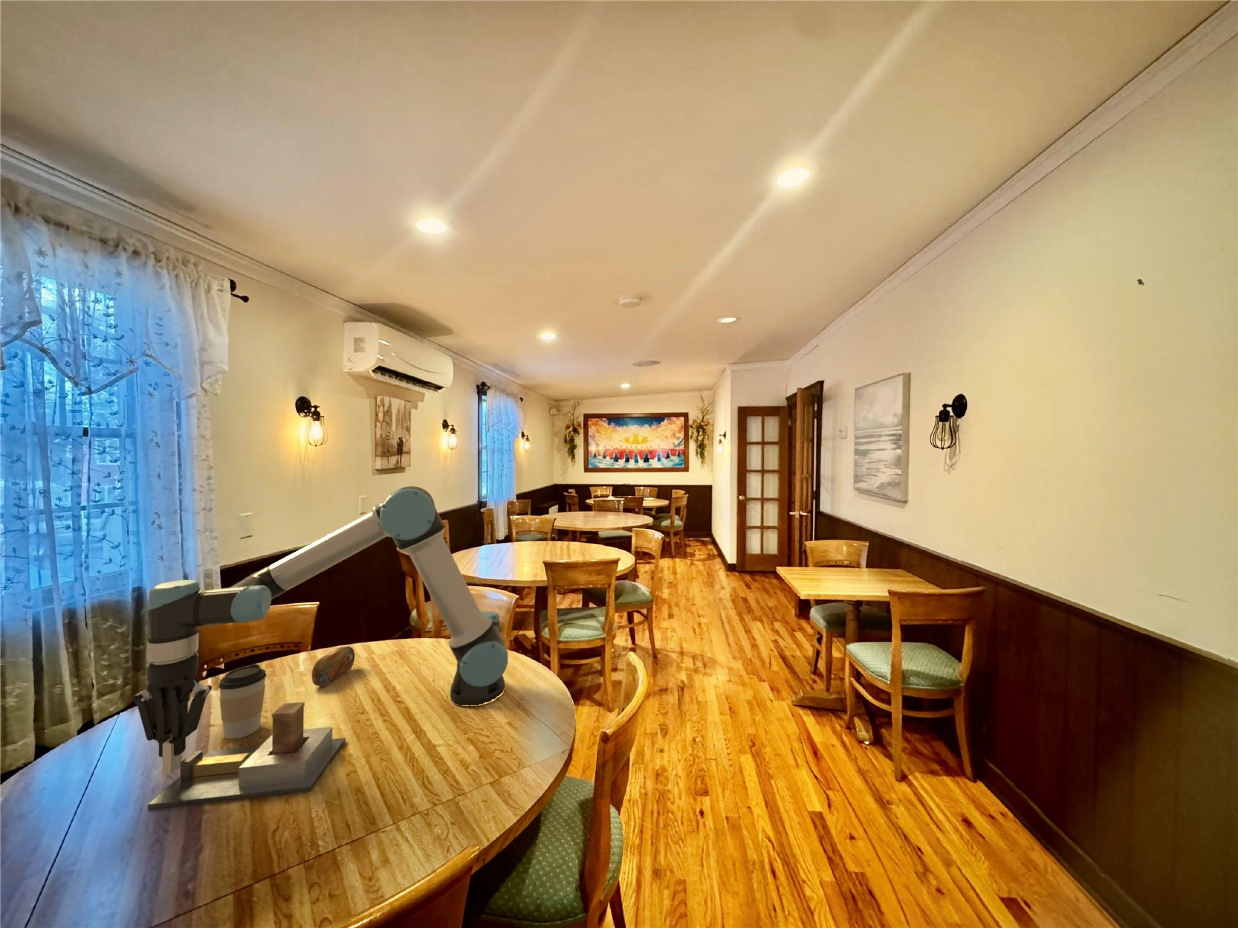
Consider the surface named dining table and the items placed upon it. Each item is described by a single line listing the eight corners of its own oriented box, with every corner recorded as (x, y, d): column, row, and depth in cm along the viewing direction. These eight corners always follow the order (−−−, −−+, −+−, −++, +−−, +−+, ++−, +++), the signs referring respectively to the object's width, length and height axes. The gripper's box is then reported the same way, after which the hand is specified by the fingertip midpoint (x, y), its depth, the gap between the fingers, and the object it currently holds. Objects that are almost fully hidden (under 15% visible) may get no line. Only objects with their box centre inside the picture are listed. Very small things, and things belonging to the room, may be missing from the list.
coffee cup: (237, 744, 102) (238, 680, 103) (207, 739, 104) (208, 676, 104) (274, 722, 111) (275, 663, 111) (246, 717, 113) (247, 660, 113)
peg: (303, 756, 97) (304, 701, 97) (293, 769, 93) (294, 712, 93) (282, 758, 96) (283, 703, 96) (271, 771, 92) (271, 714, 92)
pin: (250, 762, 95) (250, 745, 95) (238, 773, 91) (239, 756, 91) (193, 767, 93) (194, 751, 93) (180, 779, 89) (180, 762, 89)
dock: (345, 741, 104) (345, 720, 104) (310, 791, 88) (310, 766, 88) (210, 754, 99) (210, 732, 99) (148, 809, 83) (148, 783, 83)
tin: (319, 691, 126) (319, 662, 127) (309, 691, 127) (309, 662, 127) (355, 667, 141) (355, 642, 142) (346, 667, 142) (346, 641, 142)
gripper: (222, 647, 96) (220, 754, 95) (152, 651, 93) (151, 761, 93) (195, 662, 88) (194, 779, 88) (119, 667, 86) (117, 786, 86)
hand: (172, 769), depth 91 cm, fingers closed
